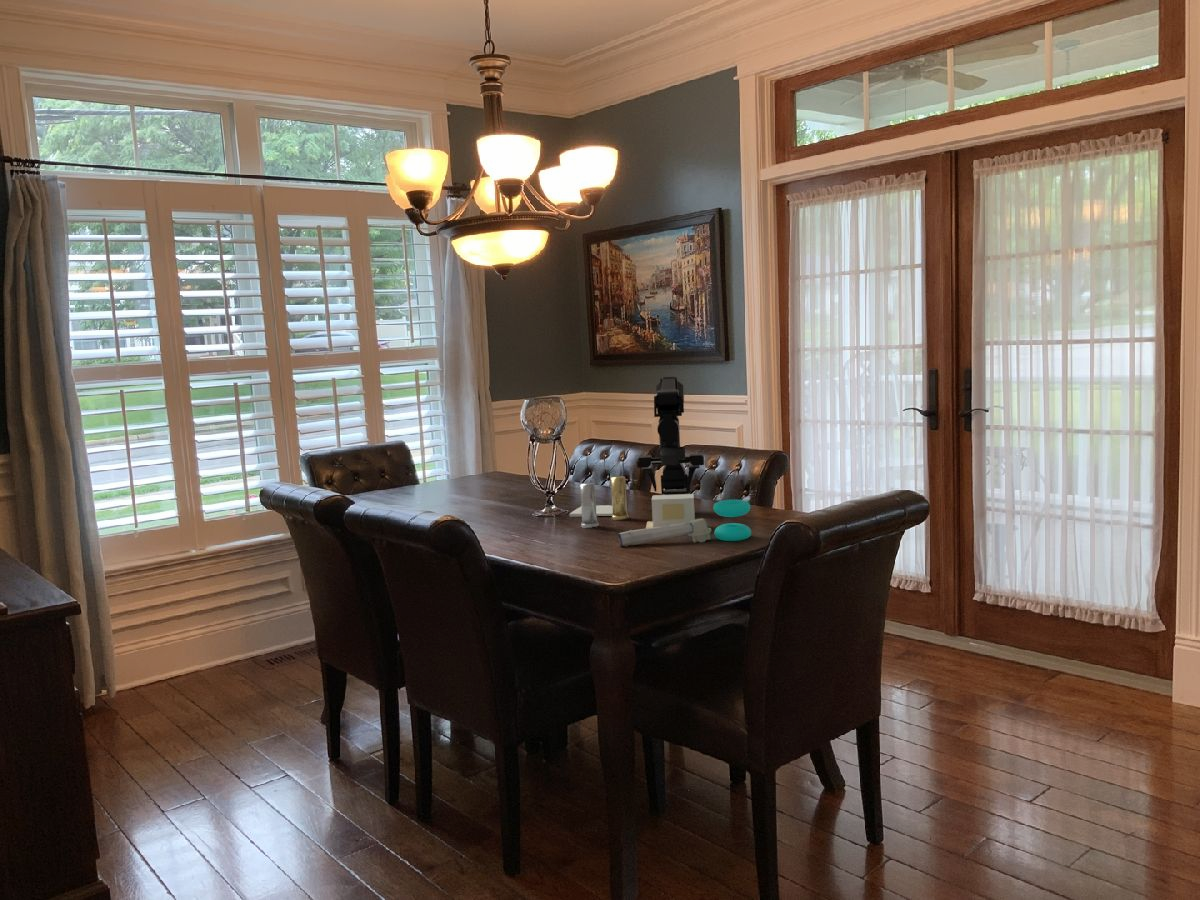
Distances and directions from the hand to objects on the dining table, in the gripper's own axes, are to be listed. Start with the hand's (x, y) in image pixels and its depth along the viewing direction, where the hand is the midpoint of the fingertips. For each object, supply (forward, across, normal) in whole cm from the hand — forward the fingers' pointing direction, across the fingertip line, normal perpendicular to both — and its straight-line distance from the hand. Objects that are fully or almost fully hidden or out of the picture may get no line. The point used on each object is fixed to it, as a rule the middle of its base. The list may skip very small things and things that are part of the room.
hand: (671, 490), depth 270 cm
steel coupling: (+12, -25, +12) cm, 31 cm away
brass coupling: (+12, -17, +23) cm, 31 cm away
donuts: (+12, +16, -10) cm, 23 cm away
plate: (+12, -26, +34) cm, 45 cm away
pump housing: (+12, 0, +6) cm, 13 cm away
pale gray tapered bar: (+12, -2, -13) cm, 18 cm away
